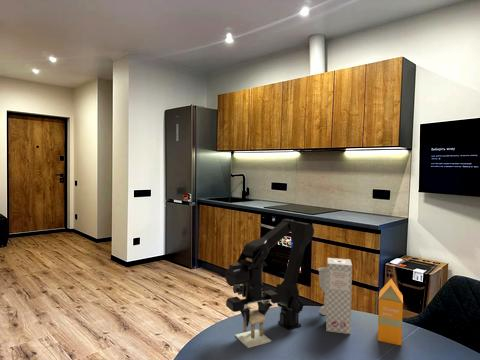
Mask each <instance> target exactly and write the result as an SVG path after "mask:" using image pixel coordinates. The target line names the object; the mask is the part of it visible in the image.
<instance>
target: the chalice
mask: <svg viewBox="0 0 480 360" xmlns="http://www.w3.org/2000/svg"><path fill="white" fill-rule="evenodd" d="M317 270H318V281H319V286H320V288H321V291H322V292H323V293H324V296H323V298H324V300H323V302H324V303H323V304H324V305H322V306H321V307H320V309H319V314H320V315H324V316H326V307H327V266H323V267H318V268H317Z"/></svg>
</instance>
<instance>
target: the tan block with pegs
mask: <svg viewBox="0 0 480 360" xmlns="http://www.w3.org/2000/svg"><path fill="white" fill-rule="evenodd" d="M249 309H250V315H249V324H250V331H251V338H252V339H254V338H255V330H256V324H259V323H260V324H259V331H260V336H263V334H264V322H266V321H265V319H266V315H265V316H264V315H263V314H262V313H260V312H259V311H258V310H257V308H249ZM242 320H243V319H242ZM242 322H243V323H242V329H243V333H244V332H248V331H247V330H248V329H247V328H248V327H246V325H245V323H244V320H243V321H242Z"/></svg>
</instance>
